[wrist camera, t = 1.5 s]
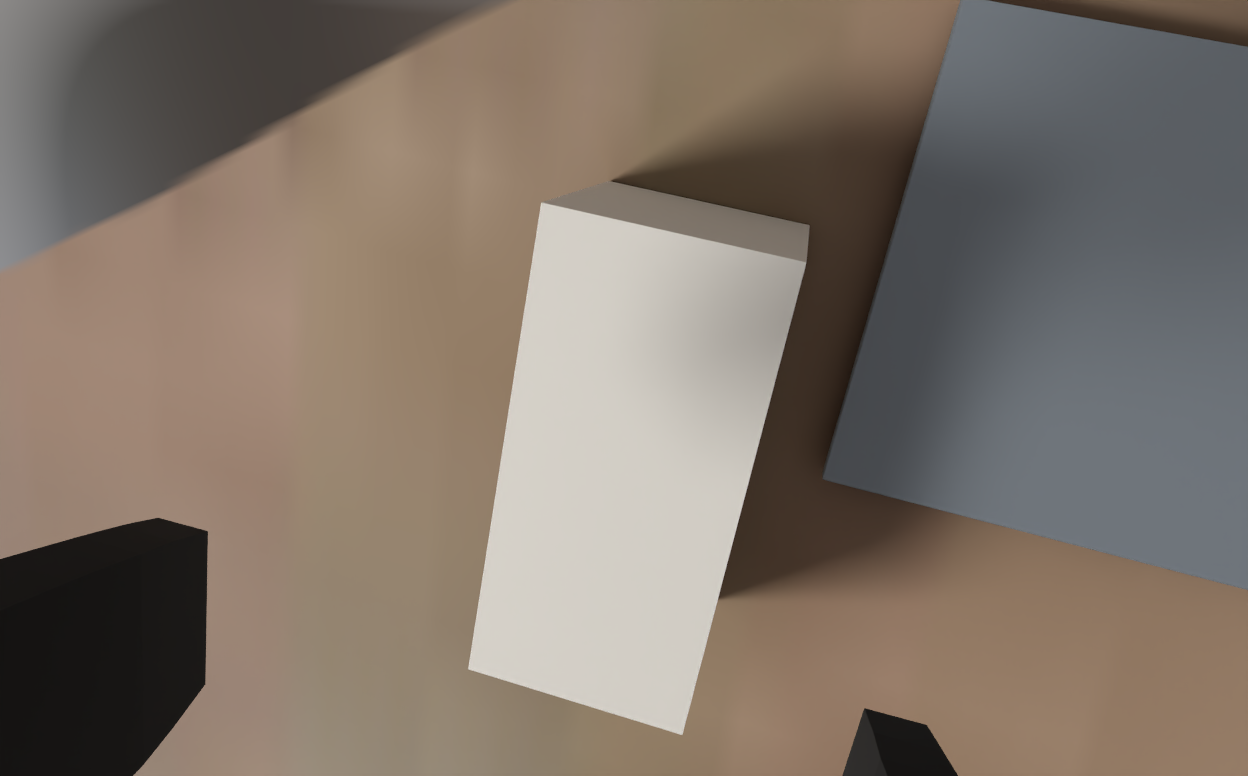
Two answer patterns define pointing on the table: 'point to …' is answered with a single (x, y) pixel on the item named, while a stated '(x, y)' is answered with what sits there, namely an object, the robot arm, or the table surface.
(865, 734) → the robot arm
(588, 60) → the table surface
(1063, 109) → the mat
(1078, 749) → the table surface
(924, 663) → the table surface
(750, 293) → the white rectangular block
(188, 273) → the table surface
